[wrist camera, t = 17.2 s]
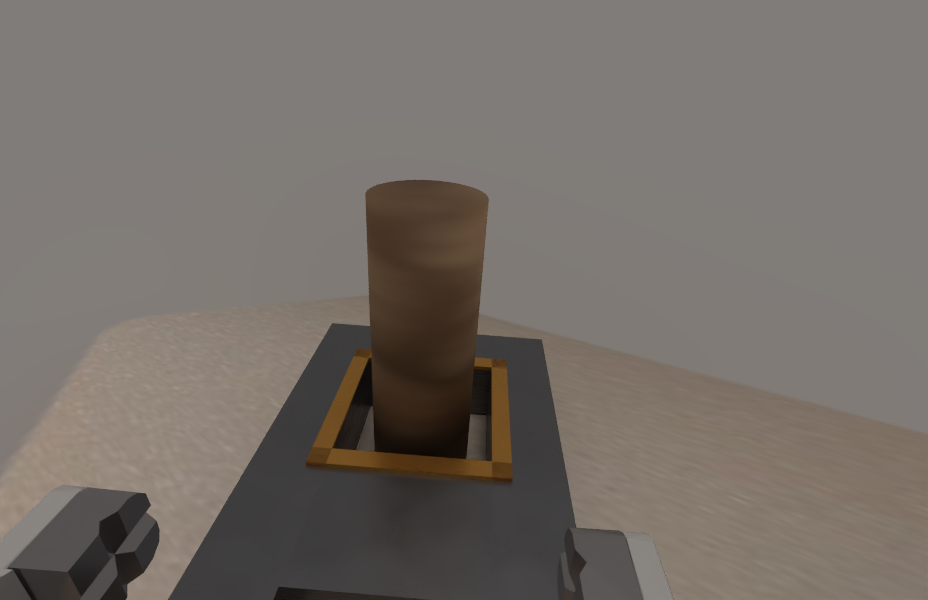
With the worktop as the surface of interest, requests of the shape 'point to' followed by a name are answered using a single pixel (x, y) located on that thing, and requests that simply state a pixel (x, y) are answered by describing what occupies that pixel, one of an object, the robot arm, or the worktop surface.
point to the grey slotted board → (394, 495)
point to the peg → (424, 312)
